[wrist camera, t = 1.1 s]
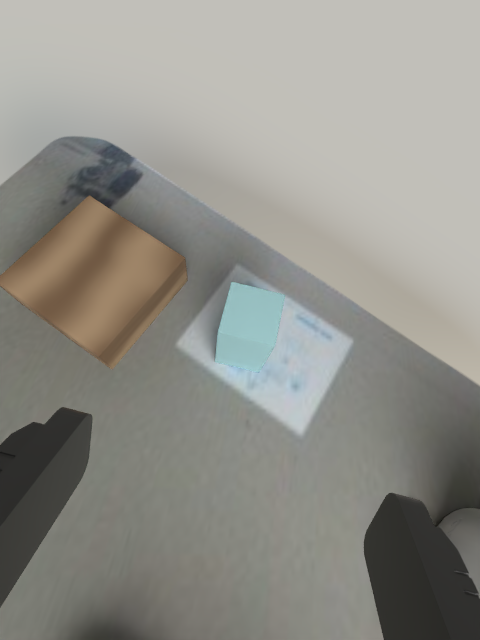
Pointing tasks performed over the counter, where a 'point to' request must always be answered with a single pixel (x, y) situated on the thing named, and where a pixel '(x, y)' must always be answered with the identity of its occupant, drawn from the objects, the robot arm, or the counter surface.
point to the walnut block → (97, 280)
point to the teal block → (248, 327)
